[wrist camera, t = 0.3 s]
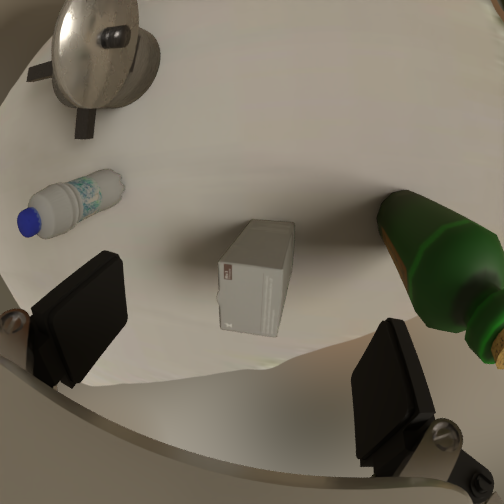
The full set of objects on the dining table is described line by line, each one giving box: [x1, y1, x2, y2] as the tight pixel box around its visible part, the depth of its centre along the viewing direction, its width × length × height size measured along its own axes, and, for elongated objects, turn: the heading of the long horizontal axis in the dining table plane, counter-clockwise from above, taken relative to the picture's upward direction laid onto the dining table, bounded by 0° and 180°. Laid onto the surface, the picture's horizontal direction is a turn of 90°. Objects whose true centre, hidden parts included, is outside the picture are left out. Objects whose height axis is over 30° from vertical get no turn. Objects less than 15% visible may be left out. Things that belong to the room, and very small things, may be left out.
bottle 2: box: [377, 190, 504, 369], centre depth 24 cm, size 11×11×28 cm
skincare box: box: [217, 219, 295, 337], centre depth 34 cm, size 8×7×16 cm
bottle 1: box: [17, 169, 125, 239], centre depth 33 cm, size 7×7×20 cm
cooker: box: [27, 27, 160, 139], centre depth 29 cm, size 23×24×9 cm
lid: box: [52, 0, 139, 109], centre depth 18 cm, size 15×15×3 cm
